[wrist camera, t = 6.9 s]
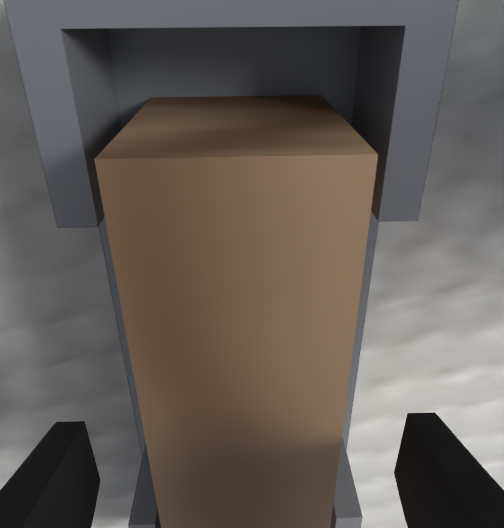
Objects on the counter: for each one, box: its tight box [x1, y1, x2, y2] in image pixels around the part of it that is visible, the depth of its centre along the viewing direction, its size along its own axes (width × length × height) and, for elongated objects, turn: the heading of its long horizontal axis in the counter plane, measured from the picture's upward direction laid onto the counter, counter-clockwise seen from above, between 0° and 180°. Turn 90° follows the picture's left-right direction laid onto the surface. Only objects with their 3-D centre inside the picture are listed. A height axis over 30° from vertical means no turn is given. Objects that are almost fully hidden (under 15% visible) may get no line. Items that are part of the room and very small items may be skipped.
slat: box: [94, 95, 378, 528], centre depth 12 cm, size 4×14×5 cm, turn 1°
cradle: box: [4, 0, 459, 528], centre depth 13 cm, size 8×19×4 cm, turn 0°
